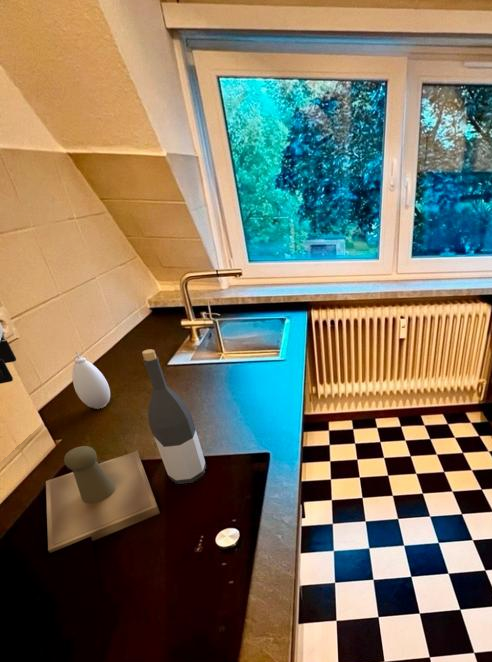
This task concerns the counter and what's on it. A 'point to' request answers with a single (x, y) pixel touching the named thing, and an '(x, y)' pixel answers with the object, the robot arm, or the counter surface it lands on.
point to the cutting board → (98, 504)
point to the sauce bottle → (90, 384)
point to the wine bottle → (173, 427)
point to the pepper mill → (89, 475)
